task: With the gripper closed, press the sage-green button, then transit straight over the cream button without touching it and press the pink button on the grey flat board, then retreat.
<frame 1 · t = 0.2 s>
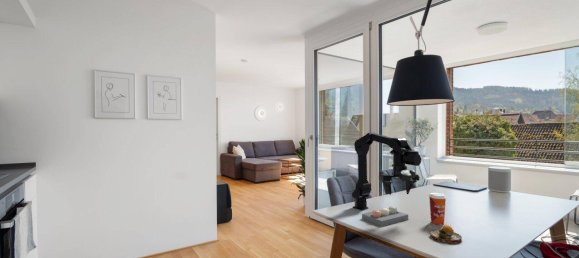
hand: (398, 194, 141), 13 cm above the table, fingers open, 9 cm apart
grey flat board: (385, 219, 144), on the table
sage button: (393, 210, 147), point 3 cm above the table, slide at 0.0 cm
cream button: (384, 212, 144), point 3 cm above the table, slide at 0.0 cm
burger: (445, 239, 119), on the table
pink button: (376, 214, 141), point 3 cm above the table, slide at 0.0 cm
paper cup: (437, 223, 138), on the table
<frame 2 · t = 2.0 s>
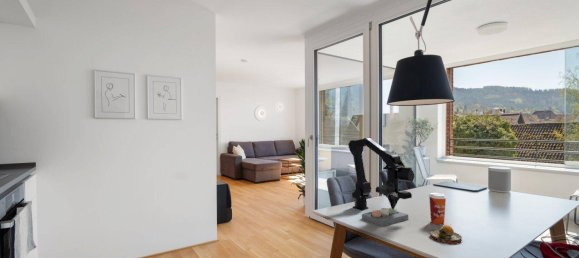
hand: (392, 208, 147), 4 cm above the table, fingers closed, pressing on sage button
sage button: (393, 212, 147), point 3 cm above the table, slide at -0.6 cm, touching gripper
everything else where it was.
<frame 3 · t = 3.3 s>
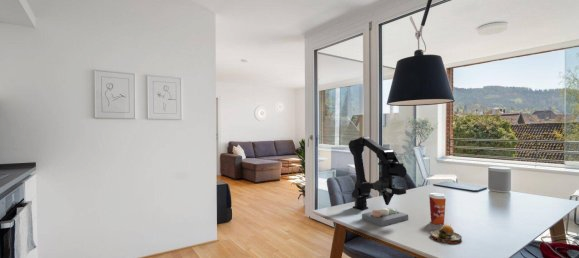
hand: (387, 205, 145), 7 cm above the table, fingers closed
sage button: (393, 212, 147), point 2 cm above the table, slide at -1.0 cm
everything else where it was.
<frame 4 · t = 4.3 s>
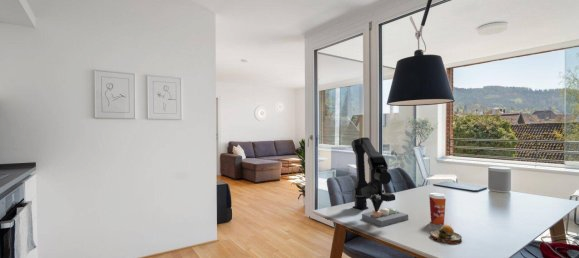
hand: (376, 211, 141), 5 cm above the table, fingers closed, pressing on pink button
pink button: (376, 214, 141), point 3 cm above the table, slide at 0.0 cm, touching gripper
everything else where it was.
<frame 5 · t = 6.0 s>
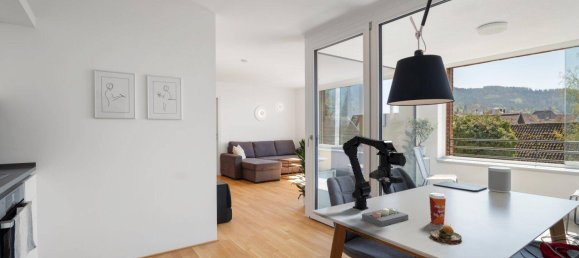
hand: (385, 193, 150), 12 cm above the table, fingers closed
pink button: (376, 216, 141), point 2 cm above the table, slide at -1.0 cm
everything else where it was.
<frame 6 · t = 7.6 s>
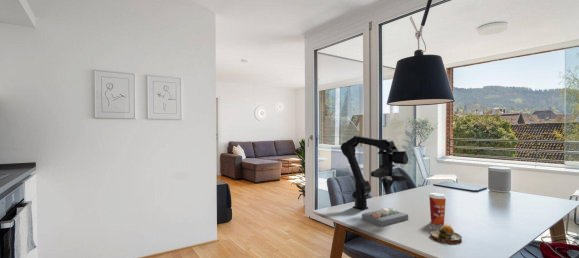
hand: (387, 191, 152), 12 cm above the table, fingers closed
nothing on the table moved.
at the end: sage button slide at -1.0 cm; pink button slide at -1.0 cm; cream button slide at 0.0 cm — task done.
